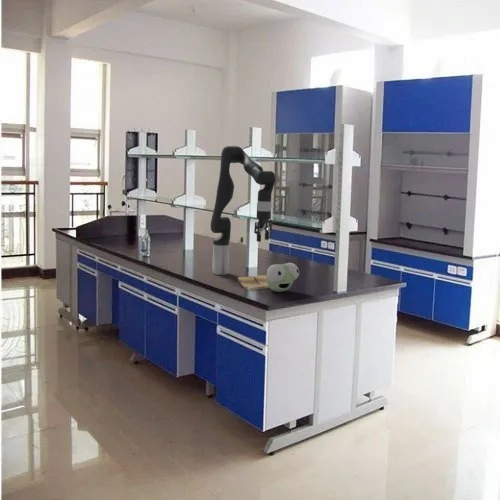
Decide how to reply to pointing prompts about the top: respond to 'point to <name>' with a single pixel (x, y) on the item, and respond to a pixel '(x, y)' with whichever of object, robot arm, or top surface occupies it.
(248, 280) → the plank near
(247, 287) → the laid strip
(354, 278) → the top surface
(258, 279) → the plank far
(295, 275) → the toy
